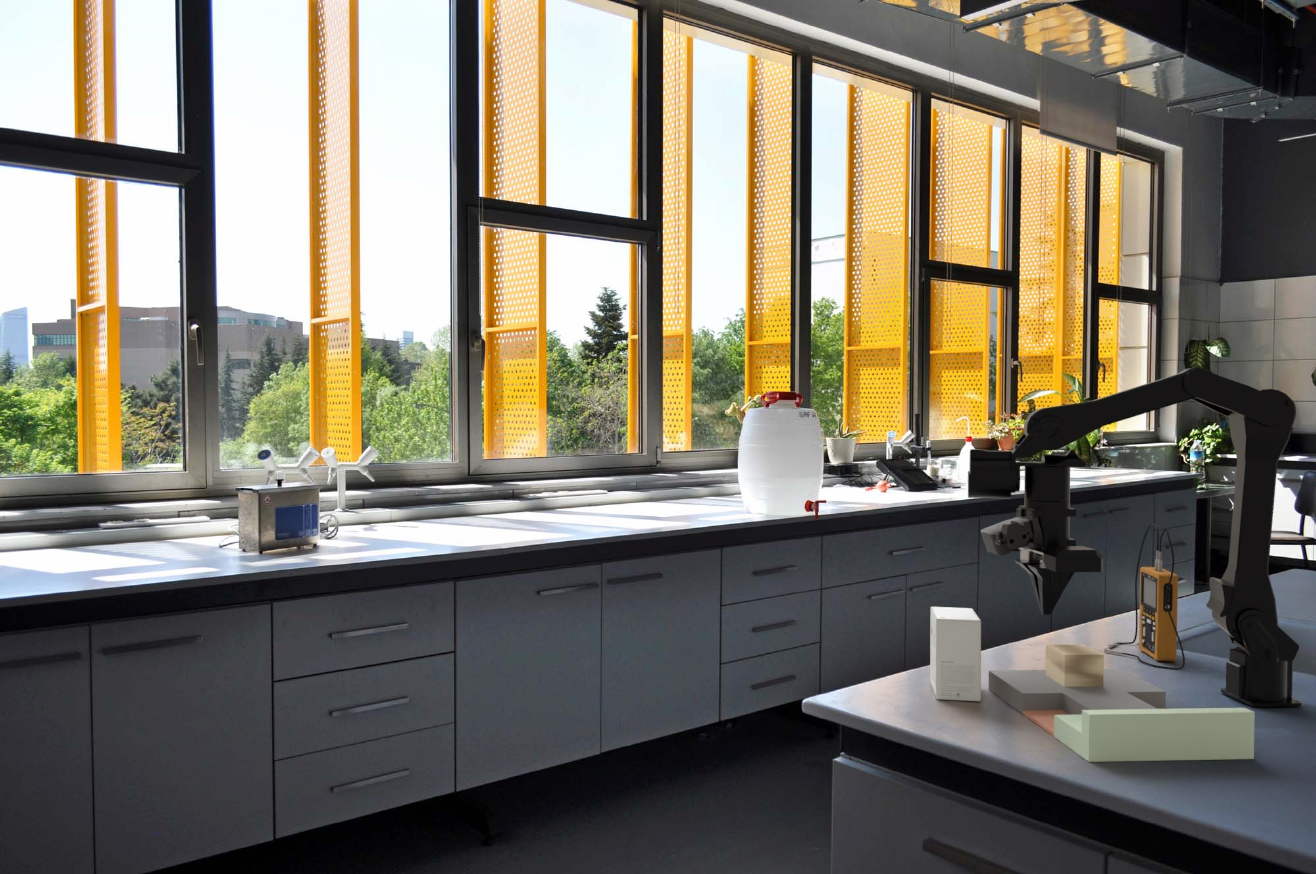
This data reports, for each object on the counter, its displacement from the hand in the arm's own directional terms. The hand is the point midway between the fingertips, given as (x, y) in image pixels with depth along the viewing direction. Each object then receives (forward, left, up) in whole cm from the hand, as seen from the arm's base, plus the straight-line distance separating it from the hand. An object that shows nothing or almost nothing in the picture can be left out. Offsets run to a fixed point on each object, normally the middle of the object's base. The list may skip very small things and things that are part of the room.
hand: (1045, 614), depth 125 cm
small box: (+14, +4, -10) cm, 17 cm away
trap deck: (0, +15, -9) cm, 18 cm away
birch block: (0, +8, -7) cm, 10 cm away
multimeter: (-20, -13, -10) cm, 26 cm away
